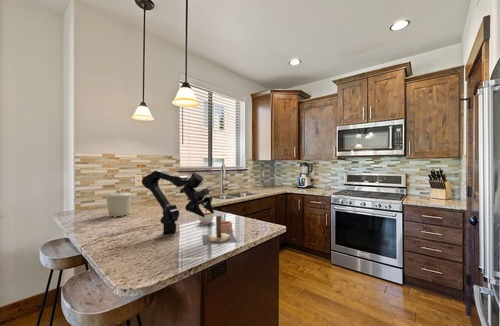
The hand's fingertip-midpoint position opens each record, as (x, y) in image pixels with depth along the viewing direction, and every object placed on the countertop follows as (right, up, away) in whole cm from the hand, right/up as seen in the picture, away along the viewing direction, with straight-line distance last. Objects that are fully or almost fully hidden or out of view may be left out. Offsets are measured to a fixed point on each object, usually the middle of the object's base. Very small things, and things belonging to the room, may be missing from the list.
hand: (208, 214), depth 119 cm
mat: (+6, -13, -2) cm, 14 cm away
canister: (-82, -14, +55) cm, 100 cm away
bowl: (+7, -13, +13) cm, 20 cm away
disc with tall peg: (+6, -12, -2) cm, 14 cm away
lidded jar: (-8, -13, +31) cm, 35 cm away
